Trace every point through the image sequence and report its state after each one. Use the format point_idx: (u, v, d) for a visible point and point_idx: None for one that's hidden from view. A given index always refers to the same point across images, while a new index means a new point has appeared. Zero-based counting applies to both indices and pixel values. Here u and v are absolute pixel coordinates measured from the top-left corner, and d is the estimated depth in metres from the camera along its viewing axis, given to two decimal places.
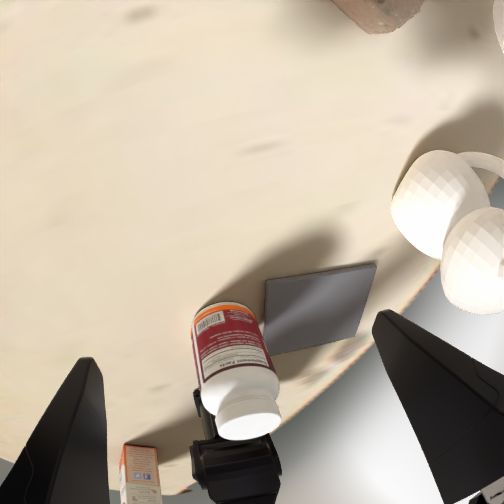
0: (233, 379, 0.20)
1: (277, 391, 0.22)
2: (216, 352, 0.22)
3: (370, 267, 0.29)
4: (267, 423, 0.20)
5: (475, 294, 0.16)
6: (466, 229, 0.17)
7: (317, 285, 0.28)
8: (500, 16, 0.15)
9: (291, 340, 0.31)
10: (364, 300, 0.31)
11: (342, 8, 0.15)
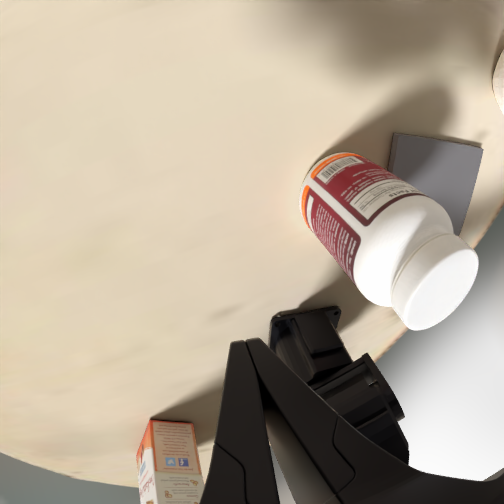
0: (419, 206, 0.12)
1: None
2: (374, 185, 0.14)
3: (478, 148, 0.21)
4: (462, 284, 0.12)
5: None
6: None
7: (439, 153, 0.20)
8: None
9: None
10: (471, 191, 0.23)
11: None
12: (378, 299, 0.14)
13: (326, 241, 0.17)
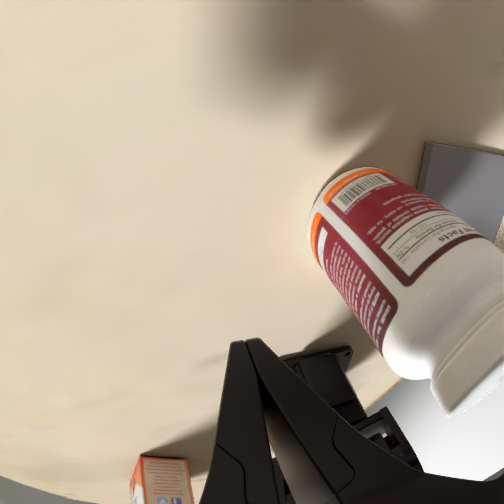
0: (481, 258, 0.08)
1: None
2: (416, 221, 0.10)
3: None
4: None
5: None
6: None
7: (475, 166, 0.15)
8: None
9: None
10: (503, 209, 0.18)
11: None
12: (411, 377, 0.10)
13: (344, 292, 0.12)
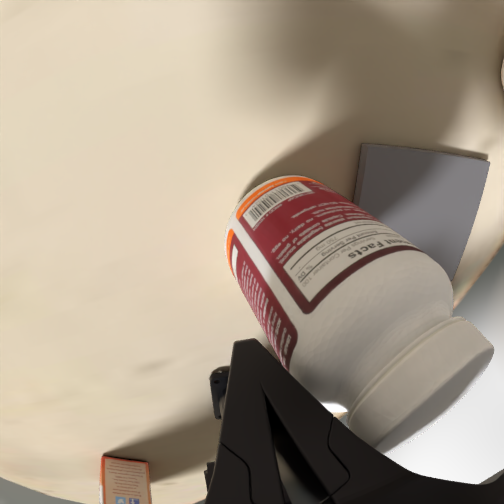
0: (402, 276, 0.07)
1: None
2: (325, 235, 0.09)
3: (484, 161, 0.16)
4: (465, 388, 0.07)
5: None
6: None
7: (430, 170, 0.15)
8: None
9: None
10: (473, 217, 0.18)
11: None
12: (331, 411, 0.09)
13: (256, 316, 0.11)
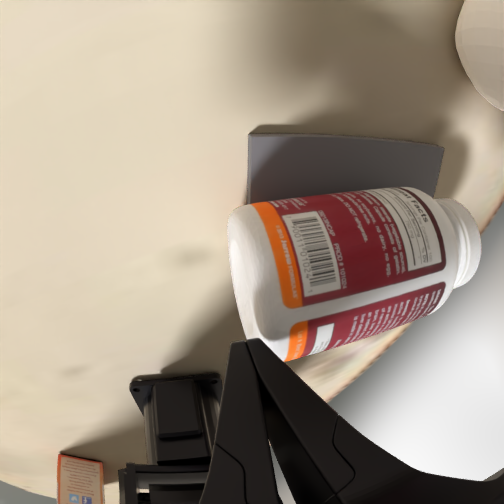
0: (439, 206, 0.11)
1: None
2: (401, 226, 0.10)
3: (435, 146, 0.14)
4: None
5: None
6: None
7: (350, 160, 0.13)
8: None
9: None
10: None
11: None
12: None
13: (373, 334, 0.11)
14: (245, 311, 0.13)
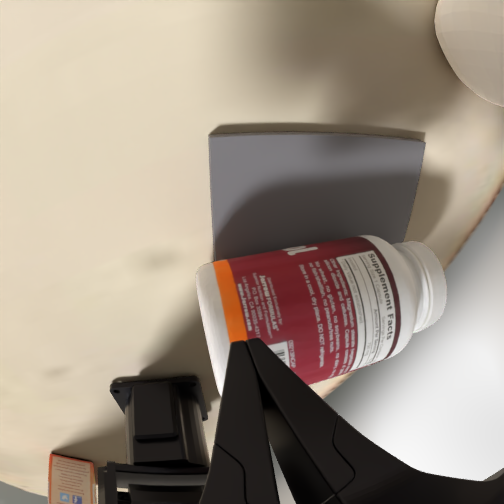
0: (415, 313, 0.11)
1: None
2: (361, 348, 0.11)
3: (415, 141, 0.14)
4: None
5: None
6: None
7: (319, 157, 0.13)
8: None
9: None
10: (406, 214, 0.16)
11: None
12: None
13: None
14: None
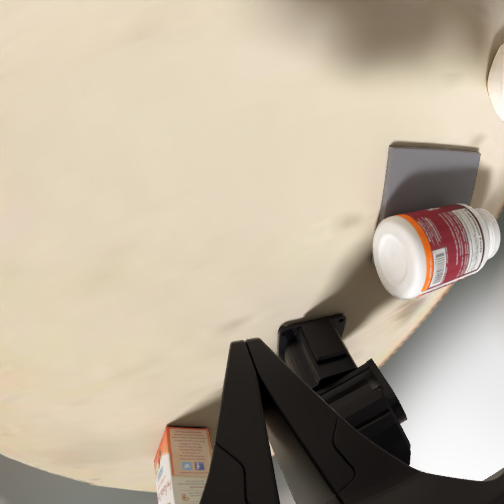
0: (489, 239, 0.19)
1: None
2: (470, 255, 0.19)
3: (475, 153, 0.21)
4: None
5: None
6: None
7: (436, 162, 0.21)
8: None
9: None
10: (470, 195, 0.24)
11: None
12: None
13: None
14: (383, 262, 0.22)
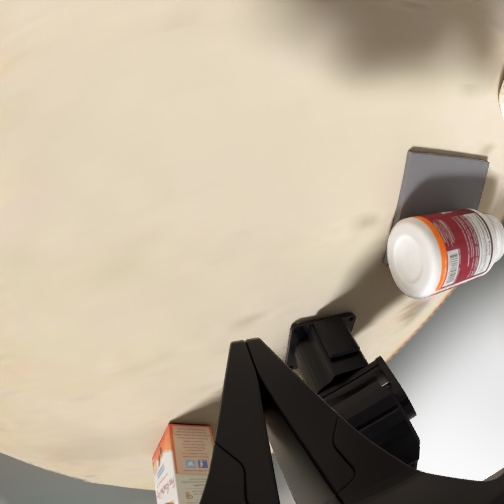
0: (497, 243, 0.19)
1: None
2: (480, 257, 0.19)
3: (485, 161, 0.22)
4: None
5: None
6: None
7: (449, 168, 0.21)
8: None
9: None
10: (477, 202, 0.24)
11: None
12: None
13: None
14: (398, 262, 0.22)
